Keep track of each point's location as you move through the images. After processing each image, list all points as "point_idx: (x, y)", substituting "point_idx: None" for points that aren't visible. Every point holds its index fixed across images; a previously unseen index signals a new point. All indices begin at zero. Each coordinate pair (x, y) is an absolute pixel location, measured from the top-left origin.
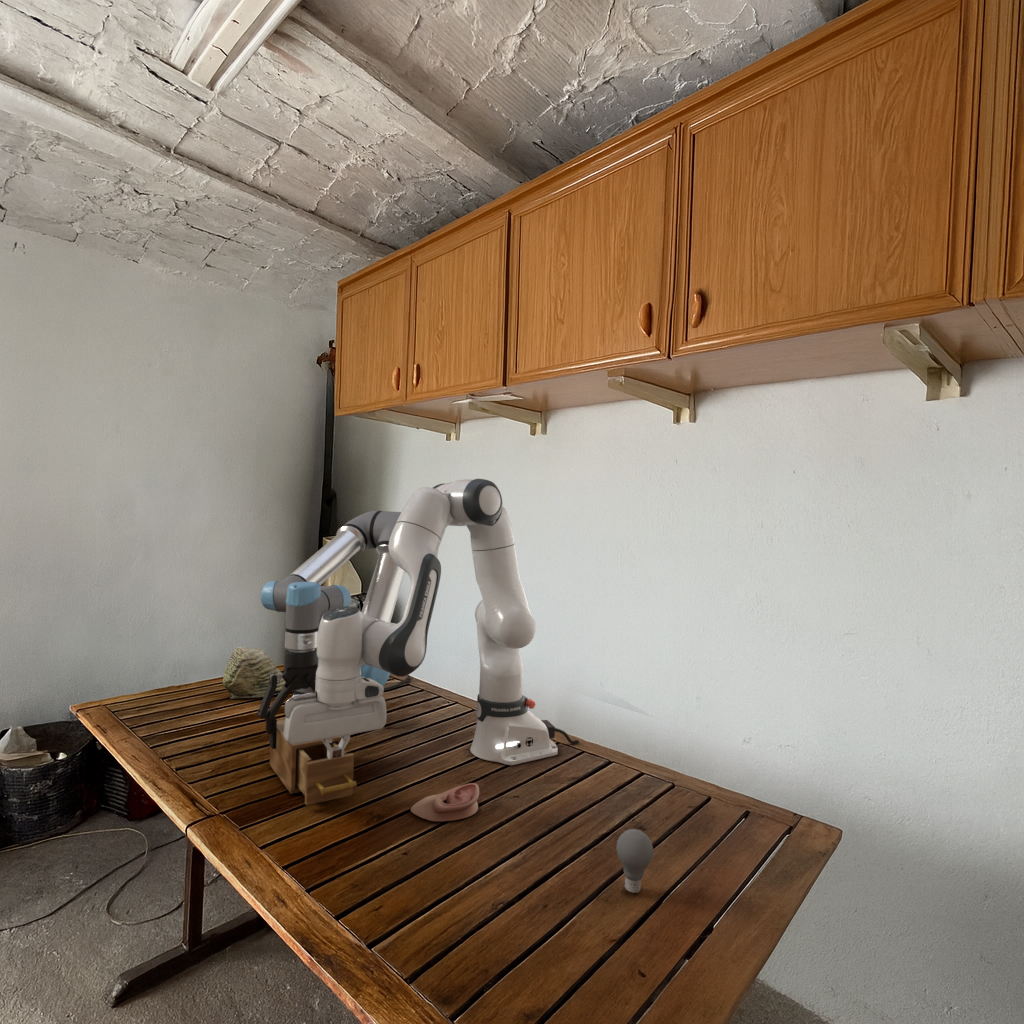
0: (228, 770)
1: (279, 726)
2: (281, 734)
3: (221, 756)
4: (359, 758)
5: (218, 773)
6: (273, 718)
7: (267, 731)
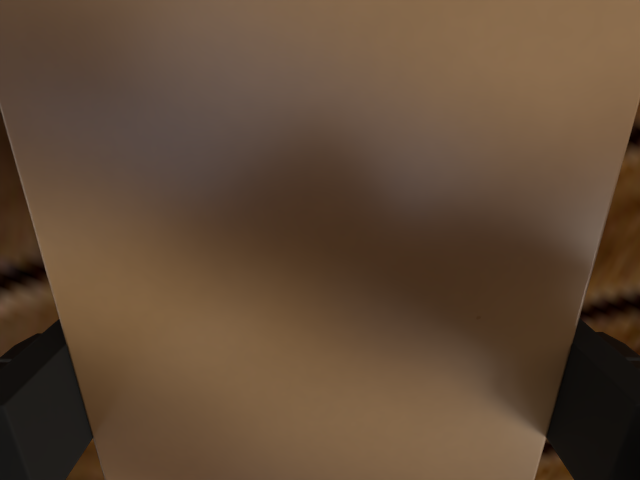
0: (591, 325)
1: (534, 362)
2: (619, 145)
3: (553, 453)
4: (5, 176)
5: (637, 316)
6: (635, 465)
7: (624, 348)
